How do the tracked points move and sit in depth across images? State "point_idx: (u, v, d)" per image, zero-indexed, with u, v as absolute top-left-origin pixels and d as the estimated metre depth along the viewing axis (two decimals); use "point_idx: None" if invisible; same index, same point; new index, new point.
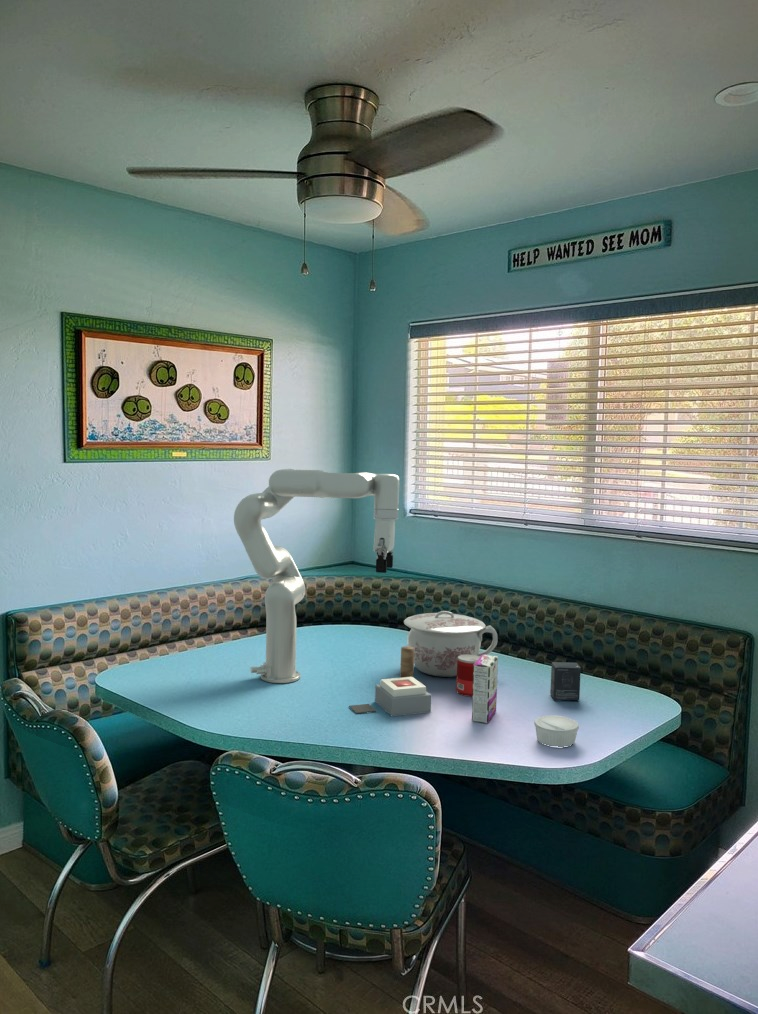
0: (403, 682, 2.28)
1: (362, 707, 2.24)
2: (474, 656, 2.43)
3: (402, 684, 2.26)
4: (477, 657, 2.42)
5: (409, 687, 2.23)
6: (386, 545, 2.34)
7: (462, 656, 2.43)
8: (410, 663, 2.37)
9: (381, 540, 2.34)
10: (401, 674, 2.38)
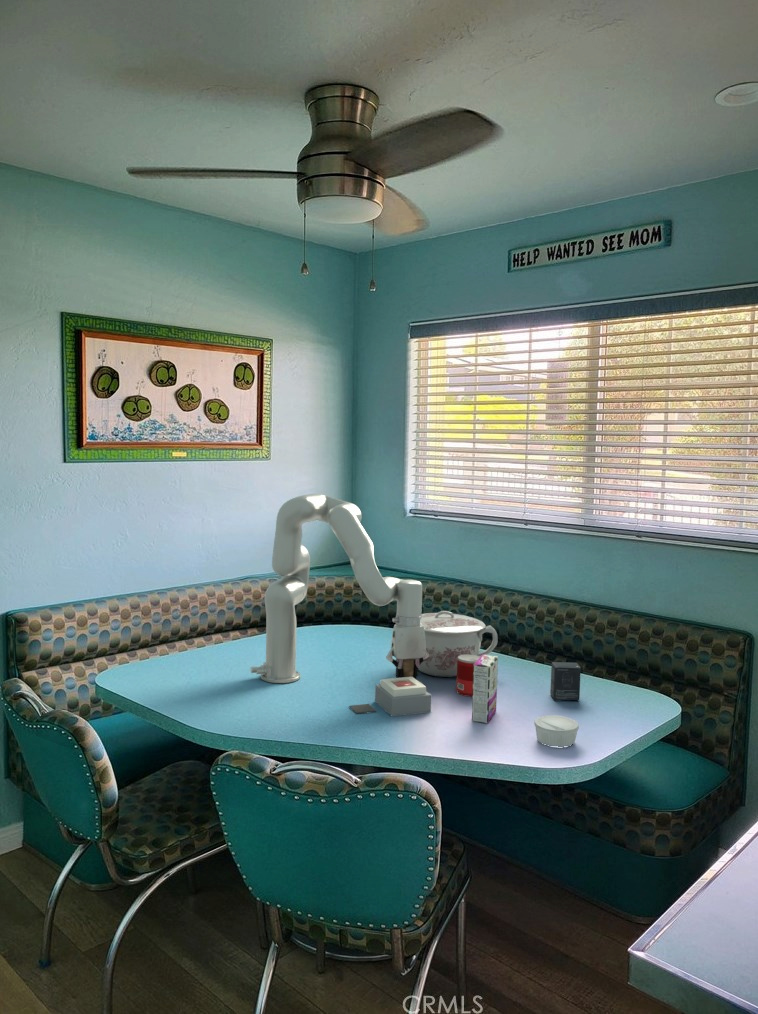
0: (403, 682, 2.28)
1: (362, 707, 2.24)
2: (474, 656, 2.43)
3: (402, 684, 2.26)
4: (477, 657, 2.42)
5: (409, 687, 2.23)
6: None
7: (462, 656, 2.43)
8: (410, 663, 2.37)
9: None
10: None
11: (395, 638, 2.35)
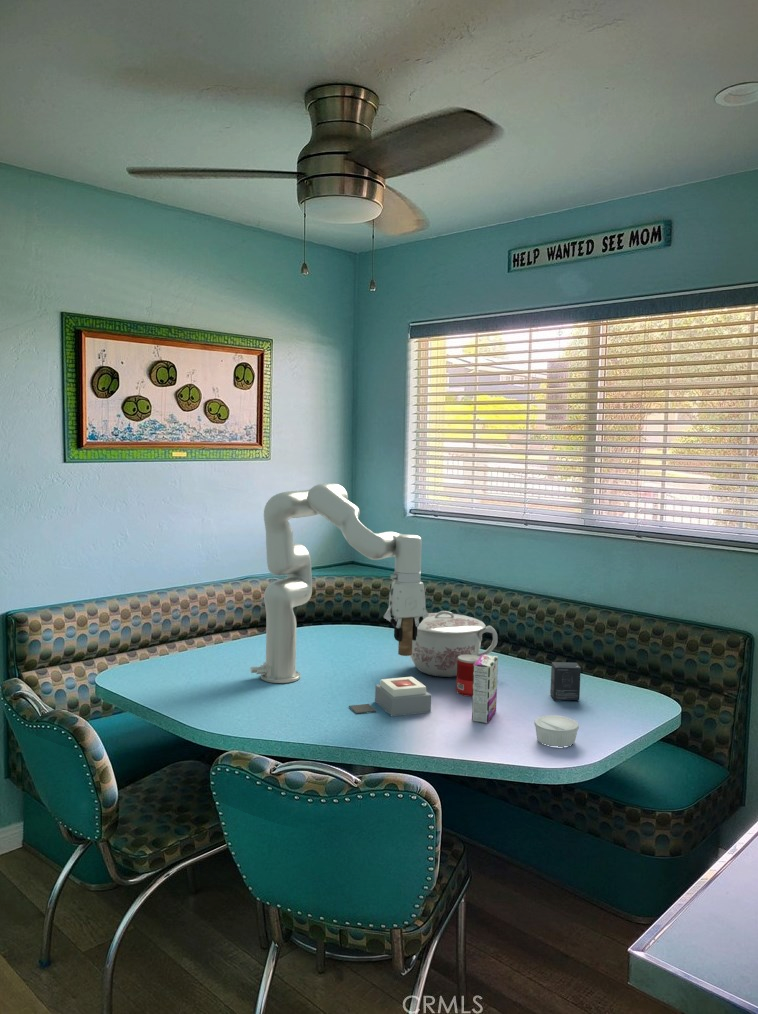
0: (403, 682, 2.28)
1: (362, 707, 2.24)
2: (474, 656, 2.43)
3: (402, 684, 2.26)
4: (477, 657, 2.42)
5: (409, 687, 2.23)
6: None
7: (462, 656, 2.43)
8: (409, 622, 2.25)
9: None
10: None
11: (393, 595, 2.23)
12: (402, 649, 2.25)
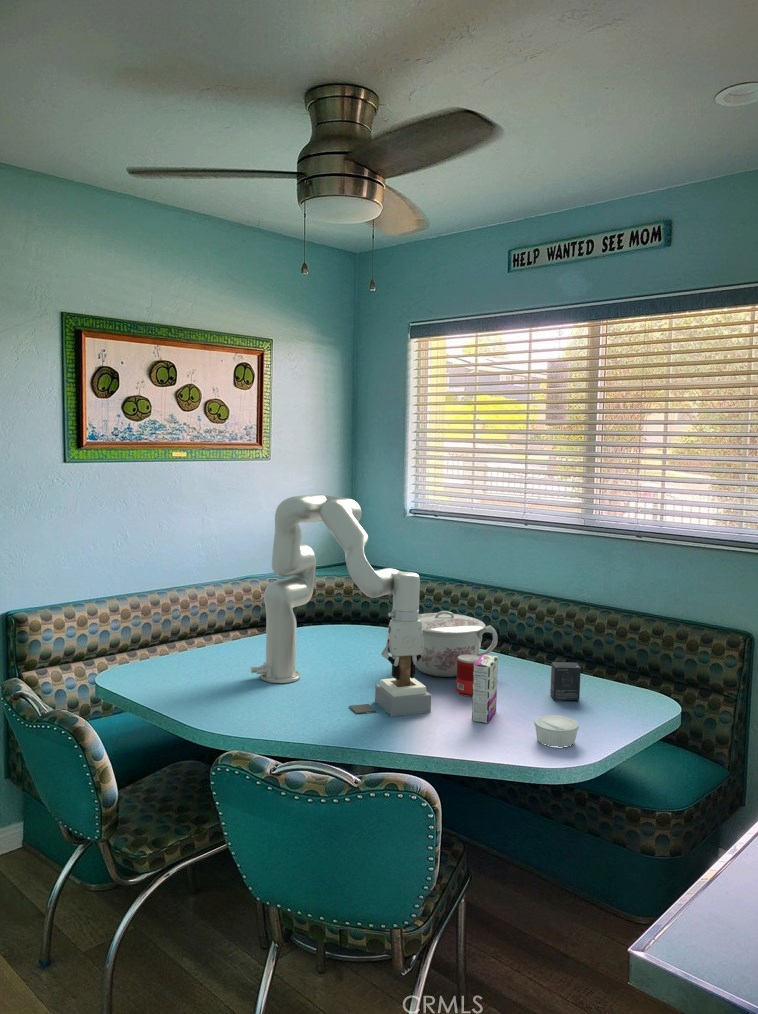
0: None
1: (362, 707, 2.24)
2: (474, 656, 2.43)
3: None
4: (477, 657, 2.42)
5: (409, 687, 2.23)
6: None
7: (462, 656, 2.43)
8: (407, 660, 2.24)
9: None
10: None
11: (391, 634, 2.22)
12: None
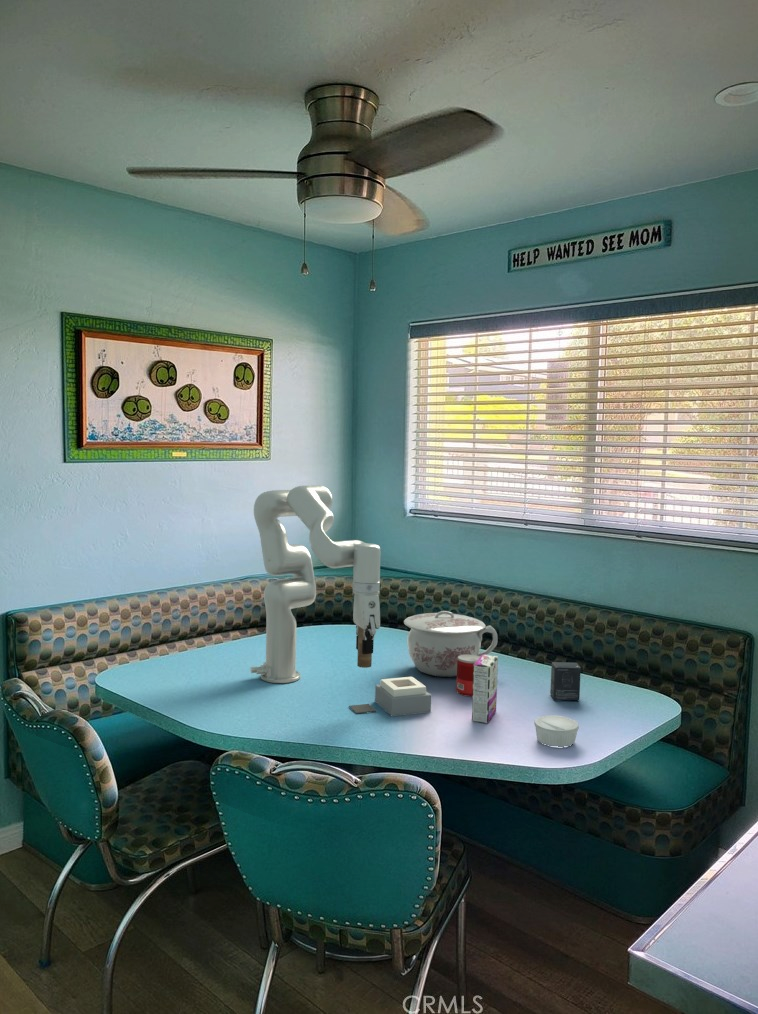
0: None
1: (362, 707, 2.24)
2: (474, 656, 2.43)
3: None
4: (477, 657, 2.42)
5: (409, 687, 2.23)
6: None
7: (462, 656, 2.43)
8: None
9: None
10: None
11: (377, 607, 2.17)
12: (370, 659, 2.21)
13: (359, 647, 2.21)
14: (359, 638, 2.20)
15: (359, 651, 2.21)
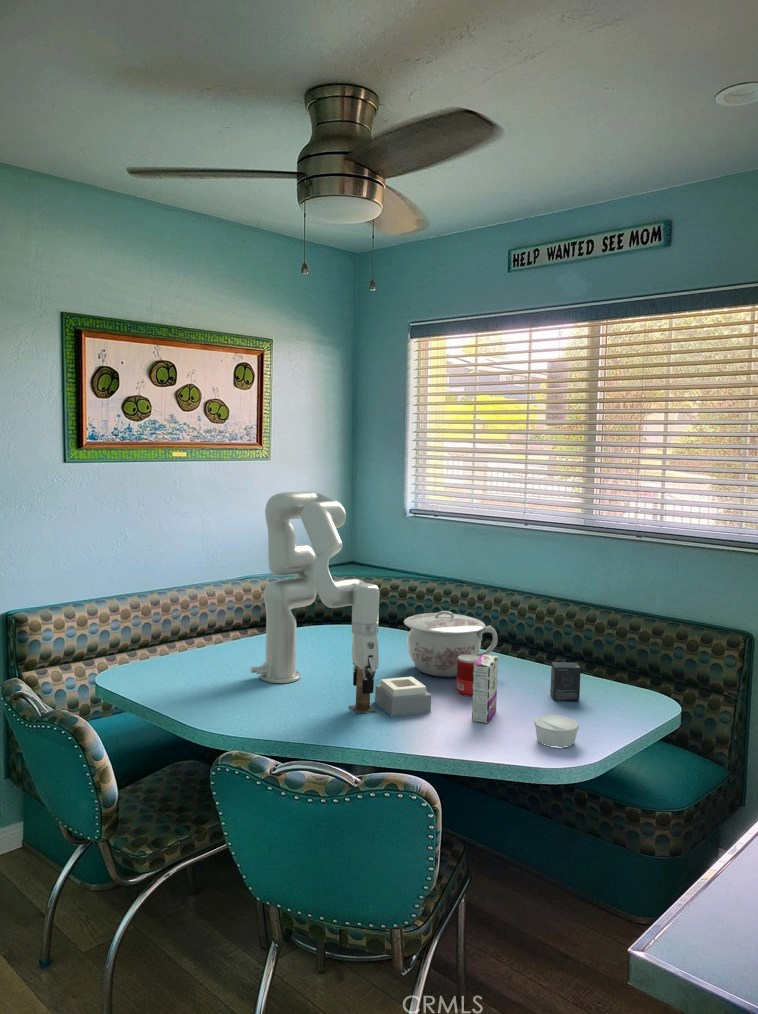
0: None
1: None
2: (474, 656, 2.43)
3: None
4: (477, 657, 2.42)
5: (409, 687, 2.23)
6: None
7: (462, 656, 2.43)
8: None
9: None
10: None
11: (375, 648, 2.18)
12: (369, 702, 2.23)
13: (357, 690, 2.22)
14: (358, 681, 2.22)
15: (357, 694, 2.22)
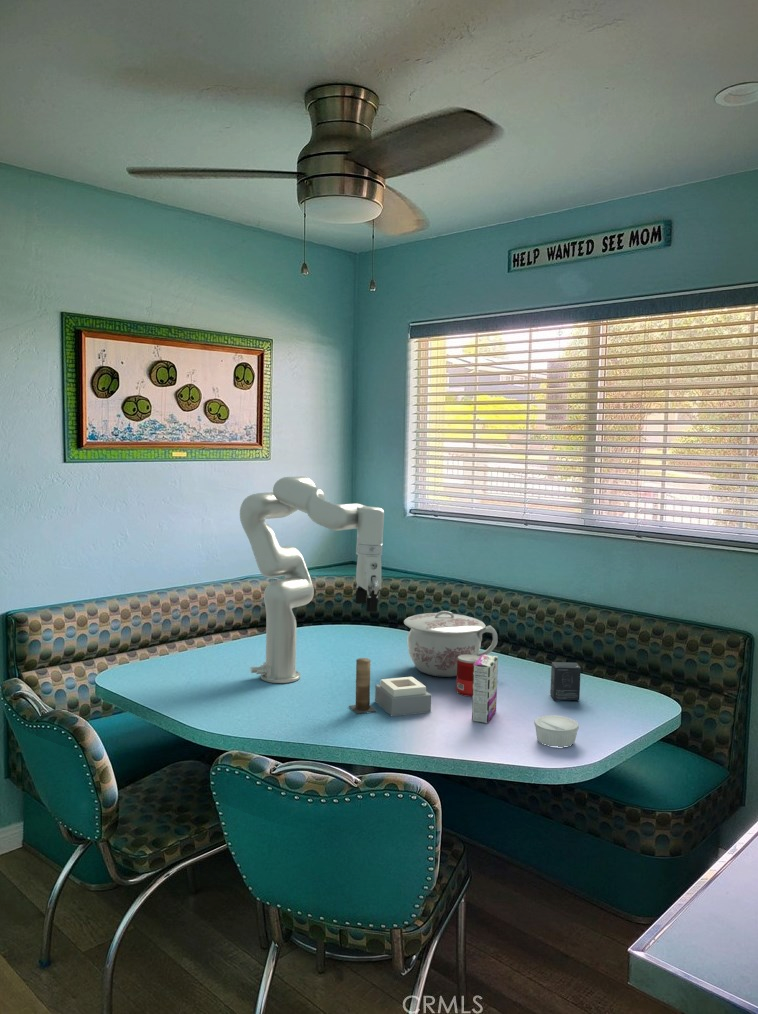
0: None
1: None
2: (474, 656, 2.43)
3: None
4: (477, 657, 2.42)
5: (409, 687, 2.23)
6: None
7: (462, 656, 2.43)
8: None
9: None
10: (366, 689, 2.21)
11: (378, 568, 2.23)
12: (368, 702, 2.23)
13: (357, 690, 2.22)
14: (357, 681, 2.22)
15: (357, 694, 2.22)
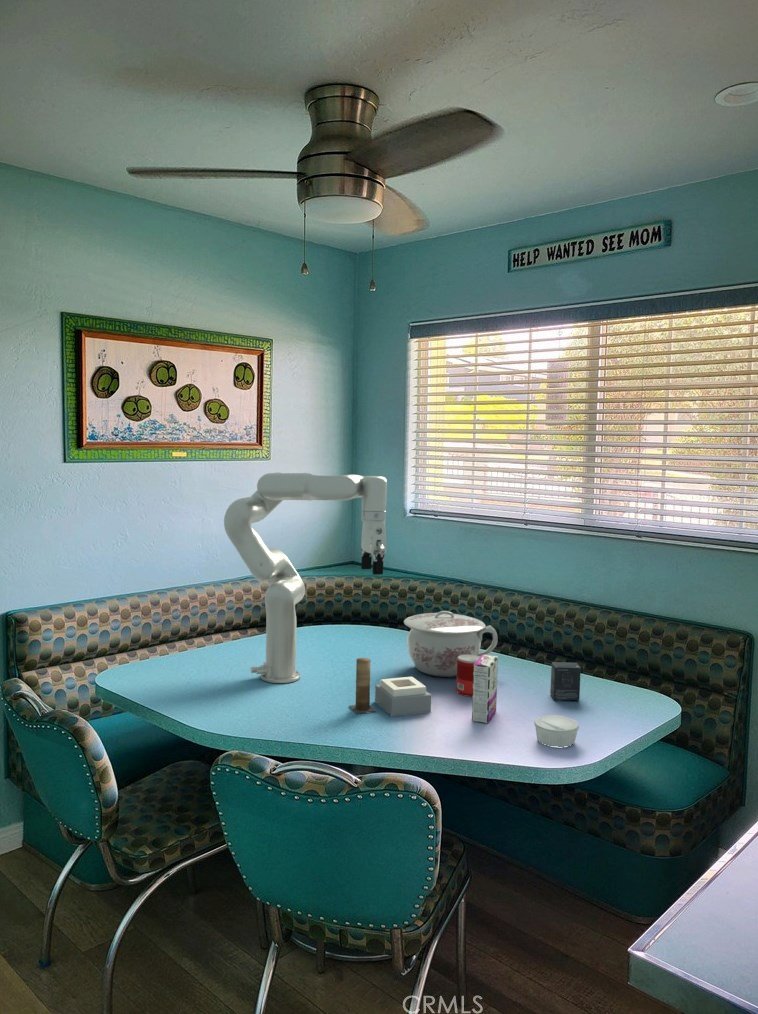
0: None
1: None
2: (474, 656, 2.43)
3: None
4: (477, 657, 2.42)
5: (409, 687, 2.23)
6: None
7: (462, 656, 2.43)
8: None
9: None
10: (366, 688, 2.21)
11: (383, 533, 2.36)
12: (369, 702, 2.23)
13: (357, 690, 2.22)
14: (357, 681, 2.22)
15: (357, 694, 2.22)
